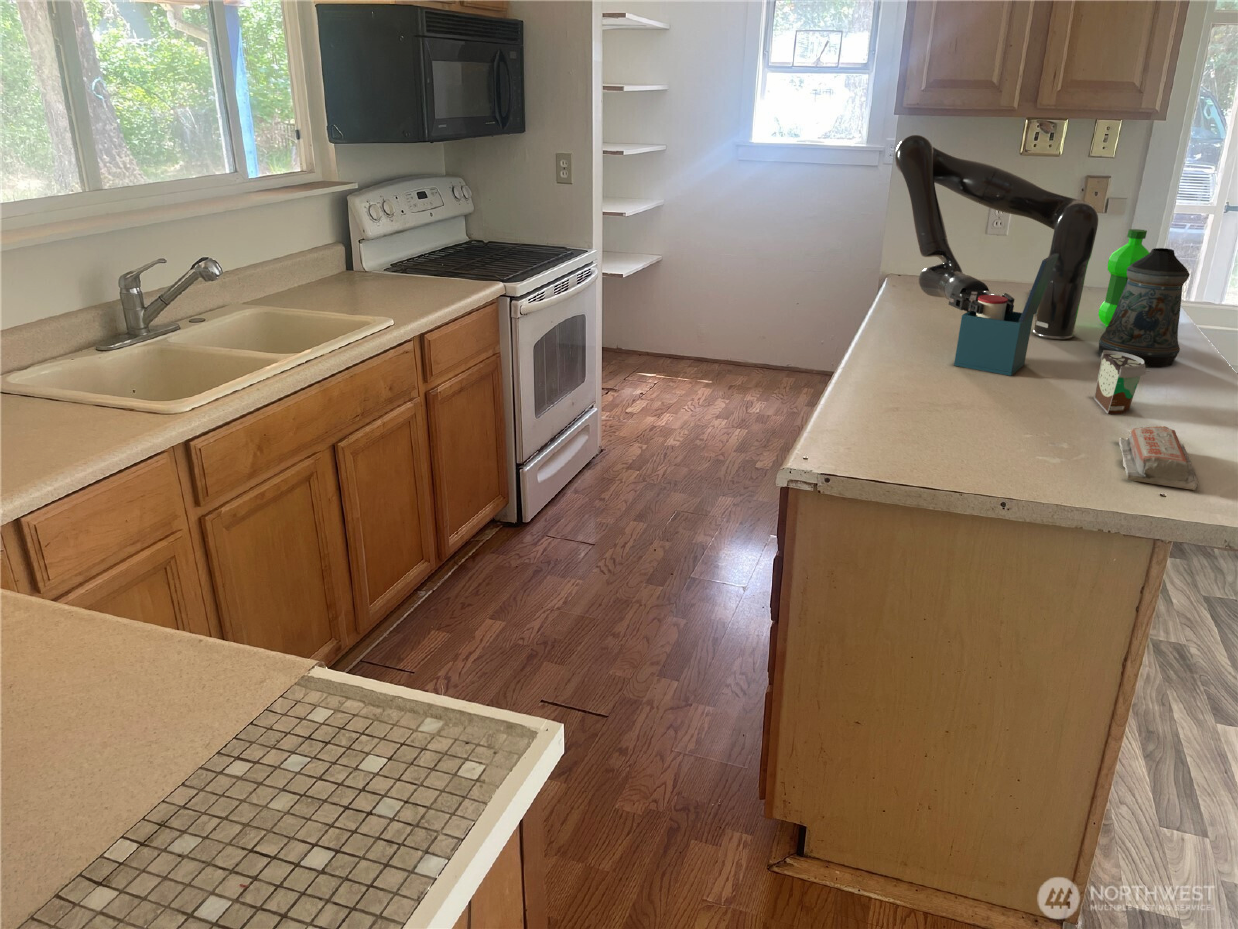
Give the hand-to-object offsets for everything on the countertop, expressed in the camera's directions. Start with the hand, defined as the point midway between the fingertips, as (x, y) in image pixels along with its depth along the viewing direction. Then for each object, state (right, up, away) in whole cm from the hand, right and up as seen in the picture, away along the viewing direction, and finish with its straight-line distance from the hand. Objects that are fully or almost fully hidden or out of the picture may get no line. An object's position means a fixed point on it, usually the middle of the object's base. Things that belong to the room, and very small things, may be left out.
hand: (996, 309), depth 193 cm
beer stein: (+38, -9, +13) cm, 42 cm away
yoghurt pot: (0, -6, +5) cm, 8 cm away
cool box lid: (+7, +4, -5) cm, 9 cm away
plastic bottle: (+49, +2, +39) cm, 62 cm away
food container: (+16, -23, -19) cm, 34 cm away
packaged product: (+7, -35, -46) cm, 58 cm away
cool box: (+1, -12, +7) cm, 13 cm away
